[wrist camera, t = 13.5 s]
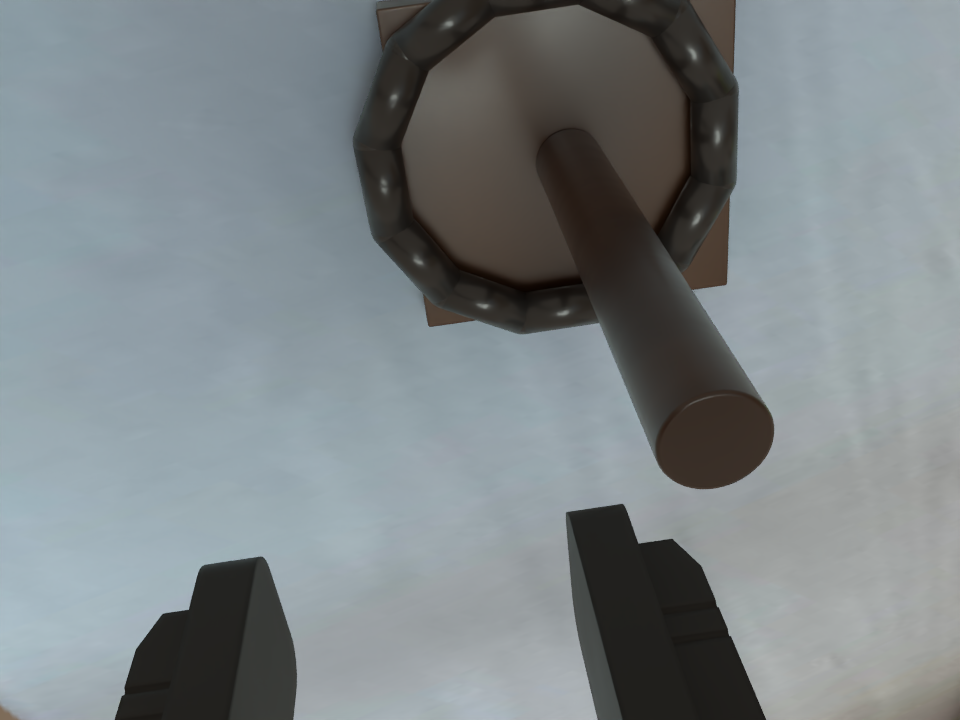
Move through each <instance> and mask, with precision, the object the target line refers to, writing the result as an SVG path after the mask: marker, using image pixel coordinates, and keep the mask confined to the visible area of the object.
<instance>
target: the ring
mask: <svg viewBox="0 0 960 720" xmlns="http://www.w3.org/2000/svg"><path fill="white" fill-rule="evenodd" d="M573 5H580V6H582V7H585V8H587V9H589V10H591V11H594V12H596V13H598V14H600V15H602V16H605V17H607V18H609V19H611V20H614V21H616V22H618V23H620V24H623V25H625V26H627V27H629V28H632V29H634V30H636V31H638V32H641V33H643V34H645V35H647V36H650V37H651V38H652V40H653V42H654V43H655V45H656V46H657V48H658V50H659V51H660V53H661V54H662V56H663V57H664V59H665V61H666V62H667V64H668V65H669V67H670V69H671V70H672V72H673V73H674V75H675V76H676V78H677V80H678V81H679V83H680V84H681V86H682V88H683V89H684V91H685V92H686V94H687V95H688V97H689V99H690V100H691V175H690V177H689V179H688V180H687V182H686V184H685V186H684V188H683V190H682V191H681V193H680V195H679V197H678V199H677V201H676V203H675V204H674V206H673V208H672V210H671V212H670V214H669V215H668V217H667V219H666V221H665V223H664V225H663V226H662V228H661V230H660V232H659V234H658V238H659V239H660V241H661V243H662V244H663V246H664V247H665V249H666V250H667V252H668V253H669V255H670V257H671V258H672V260H673V261H674V263H675V264H676V266H677V267H678V269H679V271H680V272H681V273H682V272H684V271H685V270H686V269H687V268H688V267H689V266H690V264H691V263H692V261H693V259H694V257H695V256H696V254H697V252H698V250H699V249H700V247H701V245H702V243H703V242H704V240H705V238H706V236H707V235H708V233H709V231H710V229H711V228H712V226H713V224H714V222H715V221H716V219H717V217H718V215H719V214H720V212H721V210H722V208H723V207H724V205H725V203H726V201H727V200H728V198H729V196H730V194H731V193H732V191H733V189H734V187H735V185H736V180H737V139H738V94H739V88H738V83H737V80H736V78H735V76H734V75H733V73H732V71H731V70H730V68H729V66H728V65H727V63H726V61H725V60H724V58H723V56H722V55H721V53H720V51H719V50H718V48H717V46H716V45H715V43H714V41H713V39H712V38H711V36H710V34H709V33H708V31H707V29H706V28H705V26H704V24H703V23H702V21H701V19H700V18H699V16H698V14H697V13H696V11H695V9H694V8H693V6H692V4H691V2H690V1H689V0H433V1H432V2H431V3H429V4H428V5H427V6H426V7H425V8H424V9H422V10H421V11H420V12H419V13H418V14H416V15H415V16H414V17H413V18H412V19H410V20H409V21H408V22H407V23H406V24H404V25H403V26H402V27H401V28H400V29H399V30H397V31H396V32H395V33H394V34H393V35H392V36H391V37H390V38H389V39H388V41H387V43H386V45H385V48H384V51H383V54H382V56H381V59H380V62H379V65H378V68H377V71H376V74H375V76H374V79H373V82H372V85H371V88H370V91H369V94H368V96H367V99H366V102H365V105H364V108H363V111H362V114H361V116H360V119H359V122H358V125H357V128H356V131H355V133H354V137H353V147H354V152H355V157H356V162H357V167H358V172H359V177H360V182H361V186H362V191H363V196H364V201H365V206H366V211H367V216H368V220H369V225H370V230H371V234H372V237H373V239H374V240H375V241H376V243H377V244H378V245H379V246H380V247H381V248H382V249H383V250H384V251H385V253H386V254H387V255H388V256H389V257H390V258H391V259H392V260H393V261H394V262H395V263H396V265H397V266H398V267H399V268H400V269H401V270H402V271H403V272H404V273H405V274H406V276H407V277H408V278H409V279H410V280H411V281H412V282H413V283H414V284H415V285H416V286H417V288H418V289H419V290H420V291H421V292H422V293H423V294H424V295H425V296H426V297H427V298H428V300H429V301H430V302H431V303H432V304H433V305H435V306H436V307H438V308H441V309H444V310H447V311H450V312H453V313H456V314H459V315H462V316H465V317H468V318H471V319H474V320H477V321H480V322H483V323H486V324H489V325H492V326H495V327H498V328H501V329H504V330H508V331H511V332H514V333H517V334H529V333H536V332H542V331H549V330H556V329H562V328H569V327H575V326H582V325H588V324H595V323H599V320H598V318H597V316H596V313H595V311H594V308H593V306H592V304H591V301H590V299H589V296H588V294H587V291H586V289H585V287H584V284H583V283H582V284H576V285H569V286H562V287H556V288H549V289H543V290H536V291H529V292H522V291H519V290H516V289H514V288H511V287H508V286H505V285H502V284H499V283H496V282H493V281H490V280H487V279H485V278H482V277H479V276H476V275H473V274H470V273H467V272H464V271H461V270H459V269H458V268H457V267H456V266H455V265H454V263H453V262H452V261H451V260H450V259H449V258H448V257H447V255H446V254H445V253H444V252H443V251H442V250H441V249H440V247H439V246H438V245H437V244H436V243H435V242H434V241H433V239H432V238H431V237H430V236H429V235H428V234H427V233H426V231H425V230H424V229H423V228H422V227H421V226H420V225H419V223H418V222H417V221H416V220H415V219H414V218H413V212H412V207H411V201H410V195H409V190H408V184H407V179H406V173H405V167H404V162H403V156H402V150H401V144H402V141H403V138H404V136H405V133H406V130H407V128H408V125H409V122H410V120H411V117H412V114H413V112H414V109H415V106H416V104H417V101H418V99H419V96H420V93H421V91H422V88H423V85H424V83H425V80H426V77H427V75H428V72H429V70H431V69H432V68H433V67H434V66H436V65H437V64H438V63H439V62H440V61H442V60H443V59H444V58H445V57H447V56H448V55H449V54H450V53H451V52H453V51H454V50H455V49H456V48H458V47H459V46H460V45H461V44H463V43H464V42H465V41H466V40H467V39H469V38H470V37H471V36H472V35H474V34H475V33H476V32H477V31H478V30H480V29H481V28H482V27H483V26H485V25H486V24H487V23H488V22H489V21H491V20H492V19H493V18H494V17H500V16H506V15H513V14H520V13H526V12H533V11H540V10H546V9H553V8H560V7H566V6H573Z"/></svg>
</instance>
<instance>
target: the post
mask: <svg viewBox="0 0 960 720" xmlns="http://www.w3.org/2000/svg"><path fill="white" fill-rule="evenodd" d="M432 1H433V0H385V1H379V2H377V7H376V15H377V21H378V27H379V33H380V39H381V45H382V51H384V48H385V45H386V43H387V41H388V39H389V38H390V37H391V36H392V35H393V34H394V33H395V32H396V31H397V30H399V29H400V28H401V27H402V26H403V25H404V24H406V23H407V22H408V21H409V20H410V19H412V18H413V17H414V16H415V15H416V14H418V13H419V12H420V11H421V10H422V9H424V8H425V7H426V6H427V5H428V4H429V3H431V2H432ZM689 1H690V2H691V4H692V6H693V8H694V9H695V11H696V13H697V14H698V16H699V18H700V19H701V21H702V23H703V24H704V26H705V28H706V29H707V31H708V33H709V34H710V36H711V38H712V39H713V41H714V43H715V45H716V46H717V48H718V50H719V51H720V53H721V55H722V56H723V58H724V60H725V61H726V63H727V65H728V66H729V68H730V70H731V71H732V73H734V41H735V8H736V0H689ZM401 150H402V156H403V162H404V167H405V173H406V179H407V184H408V190H409V195H410V201H411V207H412V212H413V218H414V219H415V220H416V221H417V222H418V223H419V225H420V226H421V227H422V228H423V229H424V230H425V231H426V233H427V234H428V235H429V236H430V237H431V238H432V239H433V241H434V242H435V243H436V244H437V245H438V246H439V247H440V249H441V250H442V251H443V252H444V253H445V254H446V255H447V257H448V258H449V259H450V260H451V261H452V262H453V263H454V265H455V266H456V267H457V268H458V269H459V270H461V271H464V272H467V273H470V274H473V275H476V276H479V277H482V278H485V279H487V280H490V281H493V282H496V283H499V284H502V285H505V286H508V287H511V288H514V289H516V290H519V291H522V292H529V291H536V290H543V289H549V288H556V287H562V286H569V285H576V284H582V283H583V284H584V287H585V289H586V291H587V294H588V296H589V299H590V301H591V304H592V306H593V308H594V311H595V313H596V316H597V318H598V320H599V323H600V325H601V328H602V330H603V333H604V335H605V337H606V340H607V342H608V345H609V347H610V350H611V352H612V354H613V357H614V359H615V362H616V364H617V366H618V369H619V371H620V374H621V376H622V379H623V381H624V383H625V386H626V388H627V391H628V393H629V395H630V398H631V400H632V403H633V405H634V408H635V410H636V412H637V415H638V417H639V420H640V422H641V424H642V427H643V429H644V432H645V434H646V437H647V439H648V441H649V444H650V446H651V449H652V451H653V453H654V456H655V458H656V461H657V463H658V465H659V467H660V468H661V470H662V471H663V472H664V473H665V474H666V475H667V476H668V477H669V478H670V479H672V480H673V481H675V482H677V483H679V484H681V485H683V486H686V487H690V488H695V489H713V488H719V487H723V486H726V485H730V484H732V483H735V482H737V481H739V480H741V479H742V478H744V477H746V476H747V475H749V474H750V473H751V472H752V471H754V470H755V469H756V468H757V467H758V466H759V465H760V464H761V463H762V461H763V460H764V459H765V457H766V456H767V454H768V452H769V450H770V448H771V445H772V442H773V437H774V423H773V418H772V415H771V413H770V411H769V410H768V408H767V406H766V405H765V403H764V402H763V400H762V398H761V397H760V395H759V394H758V392H757V391H756V389H755V388H754V386H753V384H752V383H751V381H750V380H749V378H748V377H747V375H746V373H745V372H744V370H743V369H742V367H741V366H740V364H739V363H738V361H737V359H736V358H735V356H734V355H733V353H732V352H731V350H730V349H729V347H728V345H727V344H726V342H725V341H724V339H723V338H722V336H721V335H720V333H719V331H718V330H717V328H716V327H715V325H714V324H713V322H712V320H711V319H710V317H709V316H708V314H707V313H706V311H705V310H704V308H703V306H702V305H701V303H700V302H699V300H698V299H697V297H696V296H695V294H694V292H693V291H692V290H694V289H701V288H708V287H715V286H722V285H726V284H727V269H728V236H729V203H730V196H729V198H728V200H727V201H726V203H725V205H724V207H723V208H722V210H721V212H720V214H719V215H718V217H717V219H716V221H715V222H714V224H713V226H712V228H711V229H710V231H709V233H708V235H707V236H706V238H705V240H704V242H703V243H702V245H701V247H700V249H699V250H698V252H697V254H696V256H695V257H694V259H693V261H692V263H691V264H690V266H689V267H688V268H687V269H686V270H685V271H684V272H682V273H681V272H680V271H679V269H678V267H677V266H676V264H675V263H674V261H673V260H672V258H671V257H670V255H669V253H668V252H667V250H666V249H665V247H664V246H663V244H662V243H661V241H660V239H659V238H658V234H659V232H660V230H661V228H662V226H663V225H664V223H665V221H666V219H667V217H668V215H669V214H670V212H671V210H672V208H673V206H674V204H675V203H676V201H677V199H678V197H679V195H680V193H681V191H682V190H683V188H684V186H685V184H686V182H687V180H688V179H689V177H690V175H691V100H690V99H689V97H688V95H687V94H686V92H685V91H684V89H683V88H682V86H681V84H680V83H679V81H678V80H677V78H676V76H675V75H674V73H673V72H672V70H671V69H670V67H669V65H668V64H667V62H666V61H665V59H664V57H663V56H662V54H661V53H660V51H659V50H658V48H657V46H656V45H655V43H654V42H653V40H652V38H651V37H650V36H647V35H645V34H643V33H641V32H638V31H636V30H634V29H632V28H629V27H627V26H625V25H623V24H620V23H618V22H616V21H614V20H611V19H609V18H607V17H605V16H602V15H600V14H598V13H596V12H594V11H591V10H589V9H587V8H585V7H582V6H580V5H573V6H566V7H560V8H553V9H546V10H540V11H533V12H526V13H520V14H513V15H506V16H500V17H494V18H493V19H492V20H491V21H489V22H488V23H487V24H486V25H485V26H483V27H482V28H481V29H480V30H478V31H477V32H476V33H475V34H474V35H472V36H471V37H470V38H469V39H467V40H466V41H465V42H464V43H463V44H461V45H460V46H459V47H458V48H456V49H455V50H454V51H453V52H451V53H450V54H449V55H448V56H447V57H445V58H444V59H443V60H442V61H440V62H439V63H438V64H437V65H436V66H434V67H433V68H432V69H431V70H429V72H428V75H427V77H426V80H425V83H424V85H423V88H422V91H421V93H420V96H419V99H418V101H417V104H416V106H415V109H414V112H413V114H412V117H411V120H410V122H409V125H408V128H407V130H406V133H405V136H404V138H403V141H402V144H401ZM423 297H424V303H425V309H426V315H427V321H428V326H429V327H433V326H440V325H447V324H454V323H461V322H468V321H475V320H474V319H471V318H468V317H465V316H462V315H459V314H456V313H453V312H450V311H447V310H444V309H441V308H438V307H436V306H435V305H433V304H432V303H431V302H430V301H429V300H428V298H427V297H426V296H425V295H424V294H423Z"/></svg>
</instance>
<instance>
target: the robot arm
mask: <svg viewBox="0 0 960 720" xmlns="http://www.w3.org/2000/svg"><path fill="white" fill-rule="evenodd" d="M566 527H567V539H568V550H569V562H570V574H571V586H572V597H573V606H574V613H575V619H576V625H577V631H578V636H579V641H580V646H581V650H582V655H583V659H584V663H585V667H586V672H587V676H588V680H589V684H590V689H591V693H592V697H593V701H594V706H595V710H596V714H597V718H598V720H766V718H765V716H764V714H763V711H762V709H761V706H760V704H759V702H758V699H757V697H756V695H755V692H754V690H753V688H752V685H751V683H750V680H749V678H748V676H747V673H746V671H745V669H744V666H743V664H742V662H741V659H740V657H739V654H738V652H737V650H736V647H735V645H734V643H733V640H732V638H731V636H729V634H728V628H727V626H726V624H725V621H724V619H723V617H722V614H721V612H720V609H719V607H717V606H716V600H715V598H714V595H713V593H712V590H711V588H710V586H709V583H708V581H707V579H706V576H705V574H704V572H703V569H702V567H701V565H700V564H698V563H697V562H696V561H695V560H694V559H693V558H692V557H691V556H690V555H689V554H688V553H687V552H686V551H685V550H684V549H682V548H681V547H680V546H679V545H678V544H677V543H676V542H675V541H674V540H673V539H668V540H661V541H654V542H647V543H641V544H638V542H637V539H636V536H635V533H634V530H633V527H632V524H631V521H630V519H629V516H628V513H627V510H626V508H625V506H624V505H623V504H618V505H612V506H605V507H598V508H591V509H585V510H578V511H571V512H566ZM296 687H297V670H296V658H295V650H294V645H293V640H292V637H291V634H290V630H289V627H288V624H287V621H286V618H285V615H284V612H283V609H282V606H281V603H280V600H279V597H278V593H277V590H276V587H275V584H274V581H273V578H272V575H271V572H270V569H269V566H268V564H267V562H266V560H265V559H264V558H263V557H255V558H248V559H241V560H234V561H228V562H221V563H214V564H207V565H204V566H202V567H201V568H200V570H199V573H198V576H197V579H196V583H195V587H194V591H193V595H192V599H191V603H190V607H189V610H185V611H178V612H171V613H164V614H162V616H161V617H160V618H159V620H158V621H157V622H156V624H155V625H154V626H153V628H152V629H151V630H150V632H149V633H148V634H147V636H146V637H145V638H144V640H143V641H142V642H141V644H140V645H139V646H138V648H137V649H136V651H135V655H134V658H133V661H132V664H131V668H130V671H129V674H128V678H127V681H126V684H125V695H124V696H122V698H121V701H120V704H119V707H118V711H117V714H116V717H115V720H293V717H294V707H295V698H296Z"/></svg>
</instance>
